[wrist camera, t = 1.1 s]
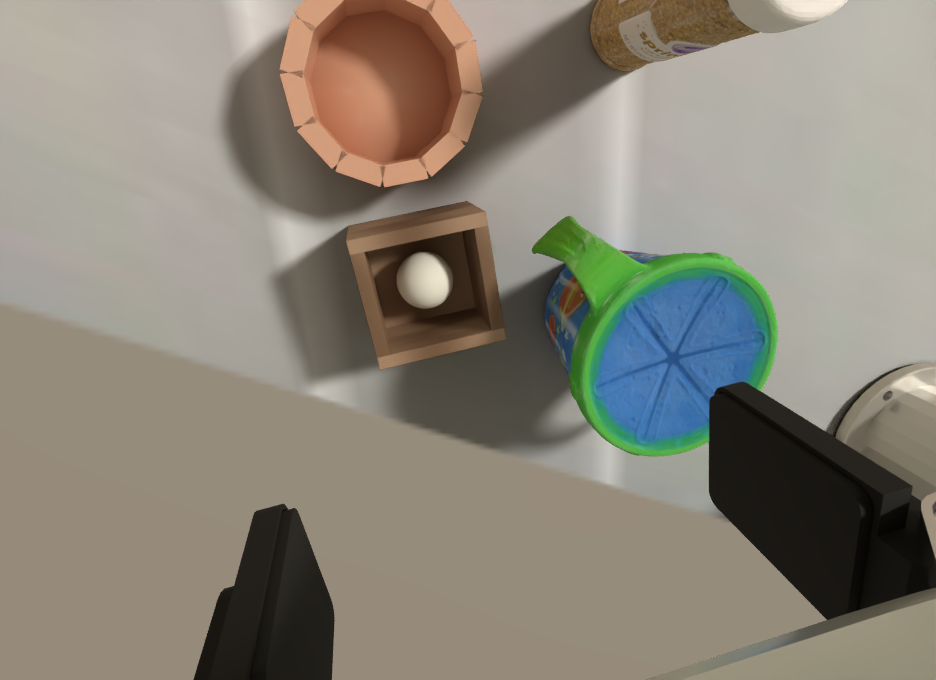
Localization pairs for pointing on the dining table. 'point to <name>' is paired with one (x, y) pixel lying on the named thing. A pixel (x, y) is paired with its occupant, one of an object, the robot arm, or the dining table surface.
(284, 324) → the dining table surface
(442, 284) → the ball
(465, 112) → the pot
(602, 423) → the snack cup
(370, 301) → the walnut box
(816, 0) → the sprinkles bottle
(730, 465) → the robot arm
